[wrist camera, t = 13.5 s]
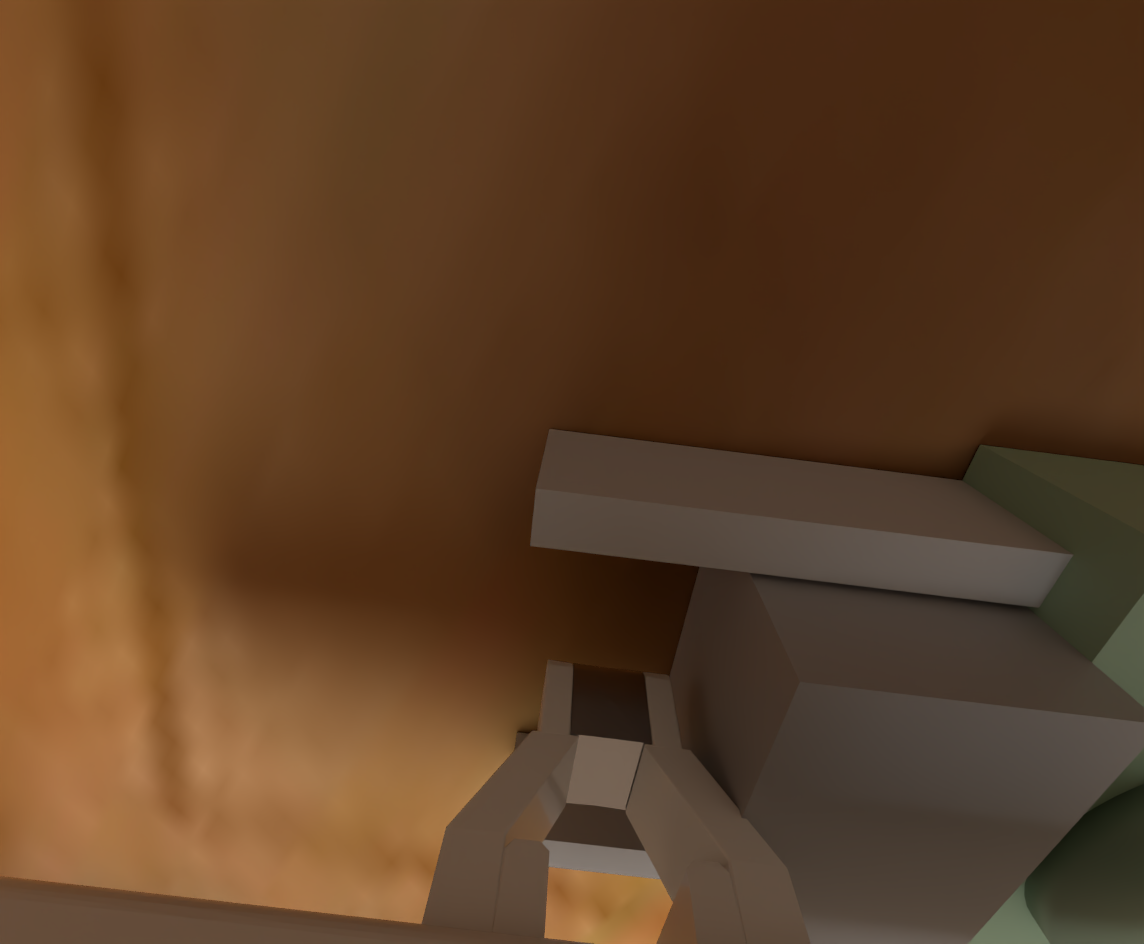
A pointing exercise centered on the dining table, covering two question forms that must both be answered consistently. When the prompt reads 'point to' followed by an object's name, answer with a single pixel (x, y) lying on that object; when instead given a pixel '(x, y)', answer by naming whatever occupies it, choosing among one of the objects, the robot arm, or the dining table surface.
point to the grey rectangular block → (895, 744)
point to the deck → (896, 562)
